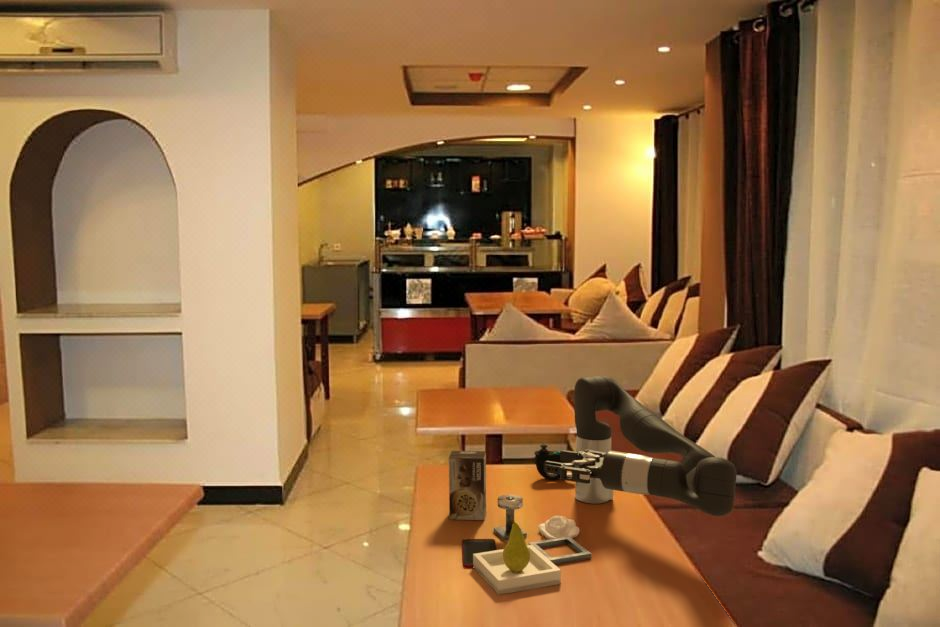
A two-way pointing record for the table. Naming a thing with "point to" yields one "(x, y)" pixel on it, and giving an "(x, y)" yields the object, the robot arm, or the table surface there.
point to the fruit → (516, 550)
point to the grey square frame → (566, 558)
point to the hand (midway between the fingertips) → (552, 460)
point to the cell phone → (475, 549)
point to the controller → (547, 456)
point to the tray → (507, 581)
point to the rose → (559, 528)
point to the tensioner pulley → (508, 514)
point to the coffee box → (467, 485)
